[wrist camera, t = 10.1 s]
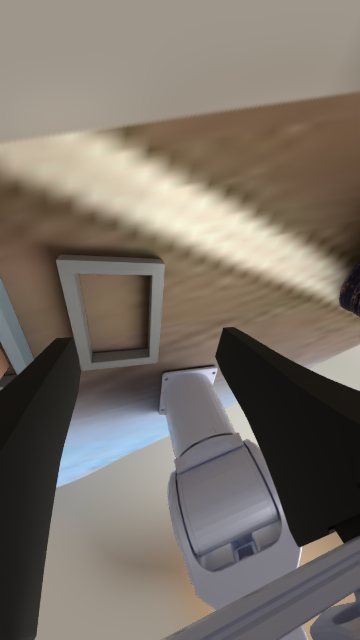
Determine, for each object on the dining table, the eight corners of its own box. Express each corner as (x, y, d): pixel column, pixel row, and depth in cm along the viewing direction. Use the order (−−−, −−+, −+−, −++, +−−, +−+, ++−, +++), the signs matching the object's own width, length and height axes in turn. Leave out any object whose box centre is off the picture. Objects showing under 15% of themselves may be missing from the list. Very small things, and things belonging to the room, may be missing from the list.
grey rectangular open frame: (155, 353, 23) (157, 362, 22) (84, 360, 21) (81, 371, 20) (161, 258, 17) (164, 264, 16) (61, 254, 15) (55, 259, 13)
